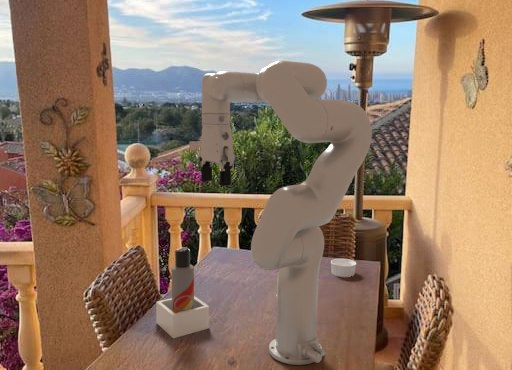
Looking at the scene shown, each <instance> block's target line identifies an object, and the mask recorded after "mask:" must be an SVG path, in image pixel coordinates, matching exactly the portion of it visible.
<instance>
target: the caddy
mask: <svg viewBox="0 0 512 370" xmlns="http://www.w3.org/2000/svg"><path fill="white" fill-rule="evenodd" d="M155 304H156V306H155V307H156V312H155V313H156V324H157V325H158V326H159V327H160V328H161V329H162V330H164V331H165V333H167V334H168V335H169V336H170V337H171V338H172V339H177V338H180V337H183V336H187V335H189V334H193V333H197V332H201V331H204V330H207V329H210V306H209V305H208V304H207V303H205V302H204V301H202V300H201V299H199V298H198V297H197V296H195V295H194V309H191V310H187V311H183V312H179V313H174V312H172V297H171V298H167V299H161V300H158V301H156V302H155Z"/></svg>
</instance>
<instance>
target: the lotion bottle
mask: <svg viewBox="0 0 512 370" xmlns="http://www.w3.org/2000/svg"><path fill="white" fill-rule="evenodd" d="M194 268H195V267H194V265H192V264H191V249H189V248H188V247H180V248H177V249H175V250H174V265H173V266H171V298H172V312H174V313H179V312H183V311H187V310H191V309H194V296H195V269H194Z"/></svg>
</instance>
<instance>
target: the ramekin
mask: <svg viewBox="0 0 512 370" xmlns="http://www.w3.org/2000/svg"><path fill="white" fill-rule="evenodd" d="M330 266H331V274H332V275H333V276H334V277H338V278H350V277H351V276H352V277H354V276H355V274H356V266H357V262H356V261H355V260H353V259H350V258H349V259H348V258H334V259H332V260H331V261H330ZM352 277H351V278H352Z"/></svg>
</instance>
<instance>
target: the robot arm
mask: <svg viewBox="0 0 512 370" xmlns="http://www.w3.org/2000/svg"><path fill="white" fill-rule="evenodd" d="M327 79H328V78H327V77H326V74H325V72H324V71H323V70H322V69H321V67H320V66H317V65H315V64H312V63H309V62H301V61H300V62H299V61H291V60H276V61H274V62H272V63H270V64H269V65H268V66H265V67H264V68H262V69H261V70H259V72H256V73H255V72H241V71H228V70H227V71H225V70H224V71H218V72H216V73H205V74H204V75H203V76H202V79H201V126H202V129H201V139H200V149H199V150H198V151H197V152H198V156H199V158H198V159H199V161H200V168H201V172H200V174H201V182H209V181H210V182H211V181H212V180H213V166H212V164H213V163H214V164H218V166H219V167H220V171H219V186H220V187H226V186H231V185H232V170H233V167H234V164H235V159H236V155H235V154H234V146H233V145H234V143H233V133H232V128H231V127H232V126H231V125H230V124H231V123H230V122H231V111H230V110H231V103H232V102H233V103H236V102H237V103H238V102H240V103H266V104H268V105H269V106H270V107H271V108H272V110H273V111H274V113H275V114H276V116H277V117H278V119H279V120H280V121H281V123H282V124H283V126H284V127H285V129H286V130H287V131H288V133H289V134H290V135H291V136H292V137H293V138H294V139H295V140H296V141H299V142H301V143H306V144H314V143H315V144H317V143H330V144H329V145H328V147H326V149H325V150H324V151H323V152H321V154H320V155H319V156H318V158H317V159H316V160H315V162H314V164H313V166H312V169H311V171H310V172H309V175H308V176H307V177H306V180H305V181H303V182H301V183H299V184H293V185H286V186H282V187H281V188H278V189H277V190H275V191H274V192H273V193H272V194H271V195H270V196H269V198H268V199H267V202H266V204H265V206H264V209H263V211H262V214H261V215H260V218H259V221H258V222H257V225H256V227H255V230H254V232H253V235H252V238H251V244H250V250H251V251H250V253H251V257H252V259H253V261H254V263H255V265H257V266H258V267H259V268H261V269H262V270H266V271H276V270H278V273H277V280H276V300H275V301H276V305H275V306H276V308H275V309H276V310H275V338H274V339H273V340H271V341H270V342H269V345H268V353H269V354H270V356H271V357H272V358H273V359H275V360H276V361H279V362H281V363H283V364H286V365H287V364H288V365H293V366H303V365H304V366H305V365H310V364H312V363H316V364H317V363H318V364H319V363H320V362H321V361H322V358H323V357H324V356H325V355H326V350H324V348H323V347H322V344H321V343H320V338H319V337H317V331H318V330H317V326H318V325H317V324H318V300H319V278H320V270H321V269H320V268H321V264H322V259H323V254H324V250H325V237H324V234H323V233H324V232H323V230H322V229H321V226H325V225H327V224H328V223H330V222H331V221H332V220H333V218H334V216H335V215H336V213H337V210H338V209H339V207H340V206H341V204H342V201H343V200H344V198H345V195H346V193H347V192H348V189H349V187H350V185H351V183H352V181H353V179H354V177H355V175H356V174H357V172H358V170H359V169H360V168H361V166H362V164H363V162H364V161H365V159H366V157H367V155H368V153H369V150H370V147H371V144H372V139H373V138H372V137H373V136H372V132H373V130H372V124H371V121H370V117H369V115H368V113H367V112H366V111H365V110H364V108H362V106H361V105H358V104H357V103H355V102H354V101H353V102H352V101H350V100H349V101H348V100H342V99H321V97H322V96H323V95H324V94H325V92H326V90H327V86H328V80H327Z"/></svg>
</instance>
